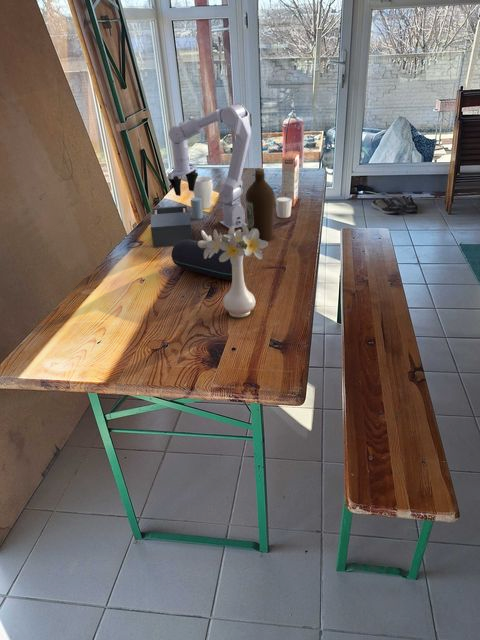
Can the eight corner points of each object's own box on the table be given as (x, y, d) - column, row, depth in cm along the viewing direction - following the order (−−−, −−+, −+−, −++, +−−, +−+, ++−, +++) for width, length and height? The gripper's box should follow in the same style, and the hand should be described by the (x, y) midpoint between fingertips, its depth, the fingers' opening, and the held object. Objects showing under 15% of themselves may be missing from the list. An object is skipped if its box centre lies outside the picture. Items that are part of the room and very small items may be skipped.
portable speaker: (249, 275, 161) (249, 246, 155) (233, 287, 154) (231, 257, 148) (188, 260, 172) (185, 233, 166) (170, 271, 165) (166, 242, 159)
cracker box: (294, 208, 218) (295, 158, 206) (280, 207, 219) (281, 157, 207) (298, 198, 229) (300, 151, 218) (286, 197, 230) (286, 150, 219)
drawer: (154, 220, 204) (152, 206, 201) (187, 218, 206) (186, 204, 203) (154, 233, 192) (152, 218, 189) (189, 230, 194) (188, 216, 191)
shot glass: (292, 213, 212) (292, 196, 208) (291, 218, 207) (291, 201, 203) (276, 212, 213) (276, 196, 209) (274, 218, 207) (274, 201, 203)
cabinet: (153, 233, 194) (150, 214, 190) (190, 230, 196) (189, 211, 192) (153, 247, 182) (150, 227, 178) (193, 244, 184) (191, 224, 180)
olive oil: (269, 230, 195) (269, 164, 181) (278, 240, 186) (278, 171, 173) (243, 234, 192) (241, 167, 179) (251, 243, 184) (249, 174, 170)
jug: (191, 215, 211) (190, 197, 207) (202, 215, 212) (200, 196, 208) (192, 220, 206) (190, 201, 202) (203, 219, 207) (201, 200, 203)
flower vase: (211, 300, 147) (204, 217, 133) (272, 304, 144) (272, 220, 131) (199, 322, 137) (190, 235, 123) (265, 327, 134) (263, 238, 120)
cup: (213, 209, 218) (211, 181, 211) (192, 209, 218) (189, 182, 211) (215, 203, 225) (213, 176, 219) (195, 203, 225) (192, 176, 219)
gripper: (187, 153, 203) (190, 187, 210) (160, 160, 193) (165, 195, 201) (199, 156, 199) (202, 190, 206) (173, 163, 189) (177, 198, 197)
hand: (185, 193), depth 203 cm, fingers open, 7 cm apart
